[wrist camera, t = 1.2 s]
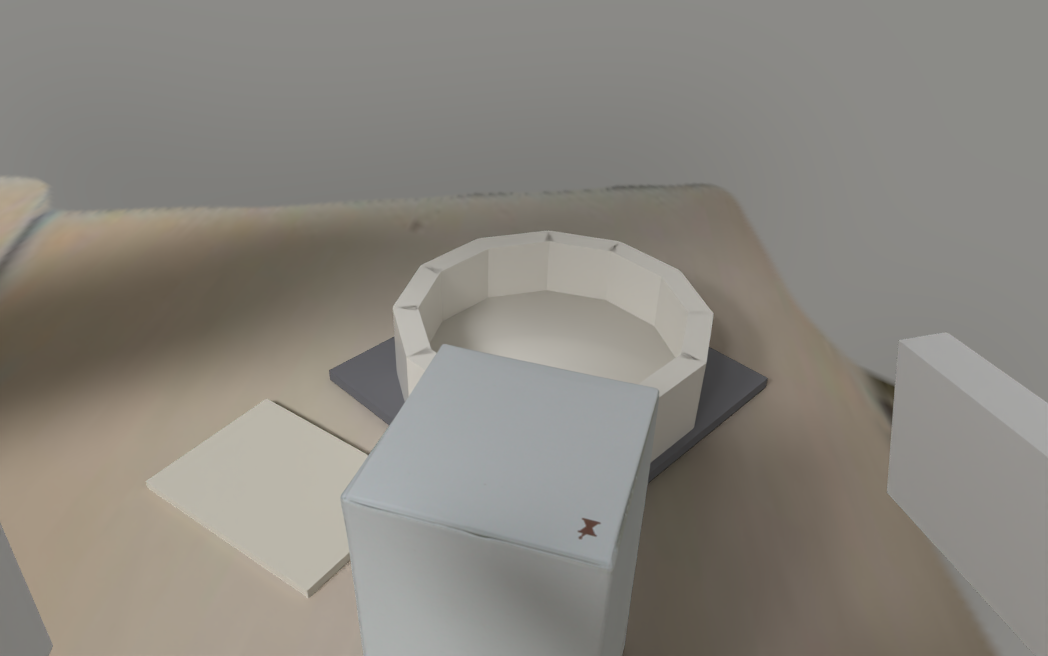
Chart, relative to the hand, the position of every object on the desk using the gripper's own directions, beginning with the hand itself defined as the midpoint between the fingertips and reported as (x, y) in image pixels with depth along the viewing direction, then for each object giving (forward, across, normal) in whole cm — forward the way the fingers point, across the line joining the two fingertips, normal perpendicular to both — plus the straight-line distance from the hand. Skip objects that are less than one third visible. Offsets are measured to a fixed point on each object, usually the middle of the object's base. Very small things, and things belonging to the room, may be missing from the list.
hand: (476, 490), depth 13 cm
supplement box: (+13, 0, -18) cm, 22 cm away
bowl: (+30, +5, -14) cm, 33 cm away
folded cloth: (+24, -8, -15) cm, 29 cm away
